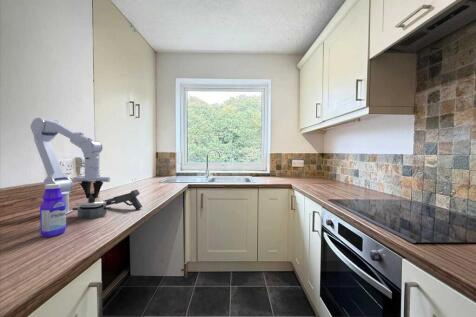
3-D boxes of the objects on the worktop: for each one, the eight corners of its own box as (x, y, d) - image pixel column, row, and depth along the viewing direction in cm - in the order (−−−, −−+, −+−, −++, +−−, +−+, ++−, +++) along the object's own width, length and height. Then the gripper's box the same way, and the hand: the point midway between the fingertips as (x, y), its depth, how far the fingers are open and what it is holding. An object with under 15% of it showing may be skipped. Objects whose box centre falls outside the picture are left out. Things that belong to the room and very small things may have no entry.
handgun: (139, 209, 120) (134, 190, 120) (98, 219, 124) (93, 200, 124) (144, 207, 123) (139, 188, 124) (103, 217, 128) (99, 199, 128)
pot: (66, 219, 102) (66, 209, 102) (79, 213, 113) (79, 204, 113) (105, 218, 105) (105, 209, 105) (114, 212, 115) (114, 203, 115)
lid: (71, 208, 101) (71, 194, 102) (81, 205, 112) (82, 192, 113) (101, 207, 104) (102, 193, 104) (109, 205, 115) (109, 192, 116)
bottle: (50, 238, 80) (49, 185, 79) (36, 237, 81) (35, 185, 81) (69, 231, 87) (69, 183, 87) (56, 230, 88) (56, 182, 88)
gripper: (69, 168, 103) (69, 200, 104) (105, 168, 106) (105, 199, 106) (77, 167, 110) (78, 197, 111) (111, 167, 113) (111, 196, 113)
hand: (92, 198), depth 109 cm, fingers closed on lid, 3 cm apart
